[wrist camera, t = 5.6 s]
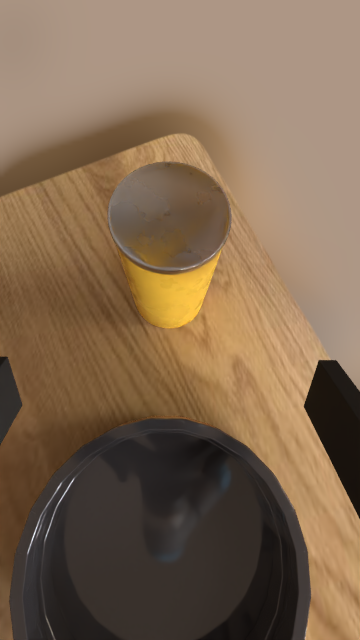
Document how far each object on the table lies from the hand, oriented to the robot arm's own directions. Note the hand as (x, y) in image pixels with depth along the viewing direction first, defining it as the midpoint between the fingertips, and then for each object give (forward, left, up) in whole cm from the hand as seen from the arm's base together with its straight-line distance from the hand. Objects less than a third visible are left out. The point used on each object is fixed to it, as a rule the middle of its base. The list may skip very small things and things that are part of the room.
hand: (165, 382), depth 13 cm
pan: (0, +11, -13) cm, 18 cm away
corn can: (0, -9, -13) cm, 16 cm away
